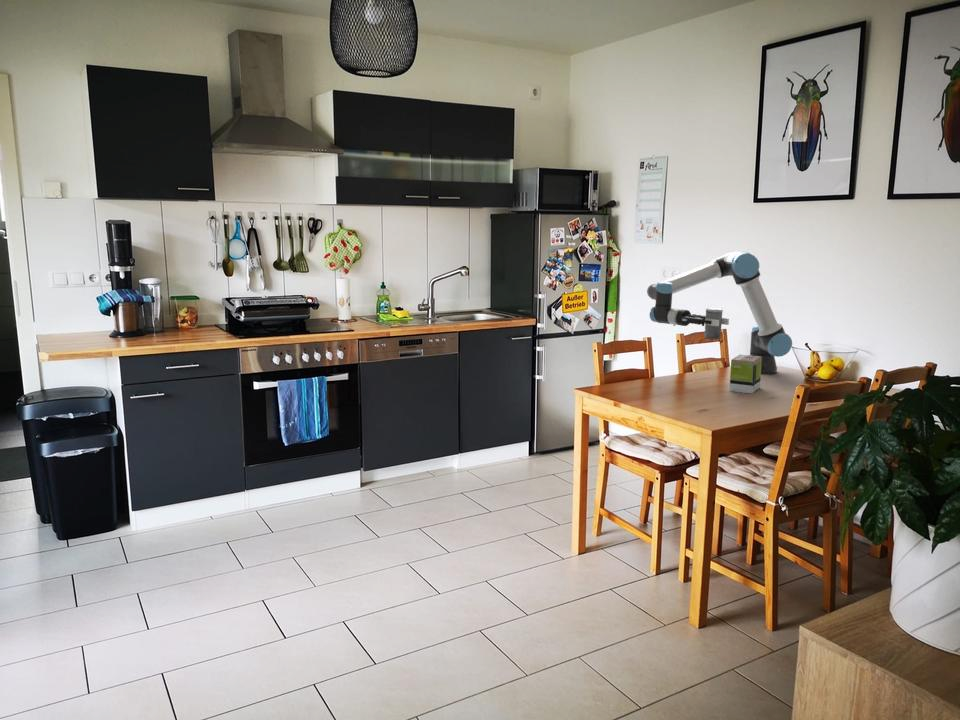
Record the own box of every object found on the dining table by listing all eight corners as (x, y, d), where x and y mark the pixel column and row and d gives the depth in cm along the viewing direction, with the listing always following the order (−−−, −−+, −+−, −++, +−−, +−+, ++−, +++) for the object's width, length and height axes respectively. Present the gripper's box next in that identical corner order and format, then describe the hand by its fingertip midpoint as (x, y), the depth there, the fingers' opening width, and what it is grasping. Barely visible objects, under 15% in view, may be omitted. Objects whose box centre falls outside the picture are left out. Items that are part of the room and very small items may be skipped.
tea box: (737, 385, 331) (740, 353, 328) (760, 388, 326) (763, 356, 323) (728, 391, 319) (731, 358, 316) (752, 394, 313) (754, 361, 311)
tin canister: (712, 336, 329) (713, 308, 327) (724, 338, 323) (726, 309, 320) (700, 337, 326) (702, 308, 323) (712, 339, 319) (714, 310, 317)
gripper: (692, 323, 343) (735, 329, 326) (666, 326, 331) (709, 332, 314) (693, 307, 342) (736, 312, 325) (667, 310, 330) (711, 315, 312)
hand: (723, 322), depth 319 cm, fingers closed on tin canister, 7 cm apart
